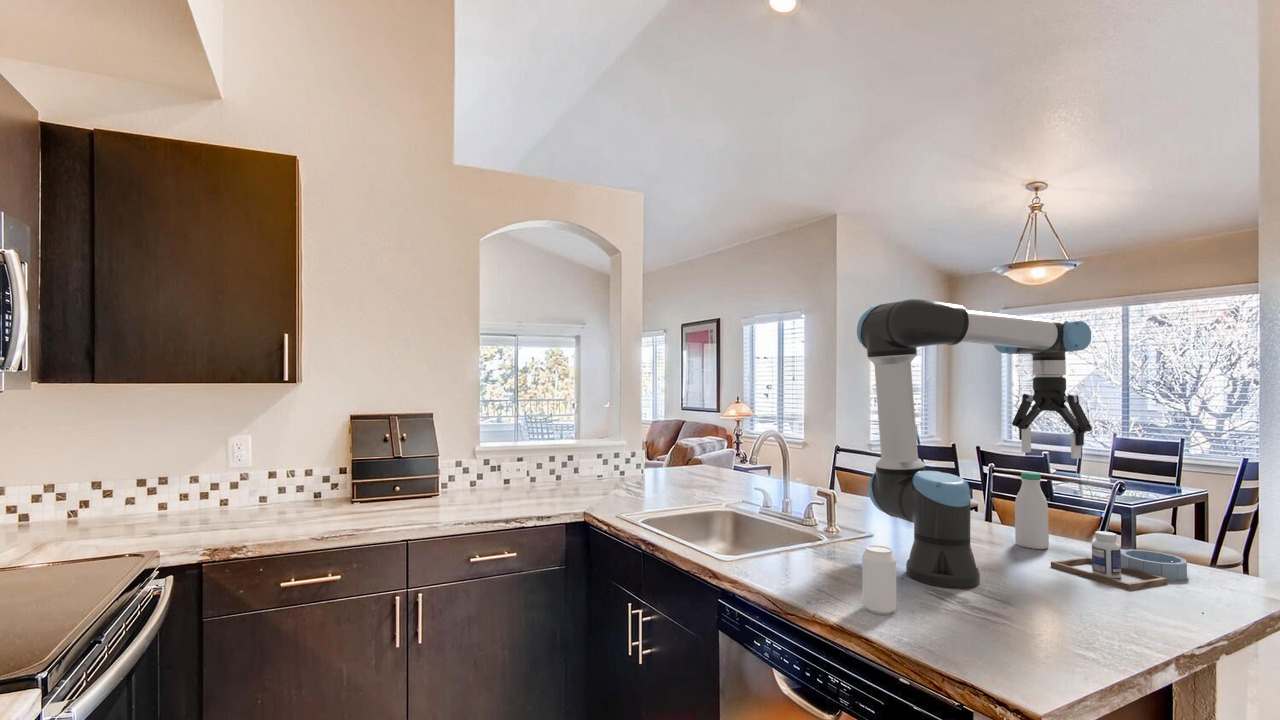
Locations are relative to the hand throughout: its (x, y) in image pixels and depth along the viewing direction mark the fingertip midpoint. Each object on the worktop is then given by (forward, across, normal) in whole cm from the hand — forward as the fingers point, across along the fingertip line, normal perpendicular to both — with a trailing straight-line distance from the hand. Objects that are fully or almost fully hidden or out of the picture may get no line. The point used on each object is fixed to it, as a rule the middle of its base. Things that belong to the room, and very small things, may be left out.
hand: (1050, 455), depth 165 cm
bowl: (+25, -22, -4) cm, 34 cm away
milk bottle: (+25, +4, +2) cm, 26 cm away
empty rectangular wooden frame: (+25, -20, +9) cm, 33 cm away
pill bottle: (+25, -20, +9) cm, 33 cm away
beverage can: (+26, -18, +75) cm, 82 cm away
